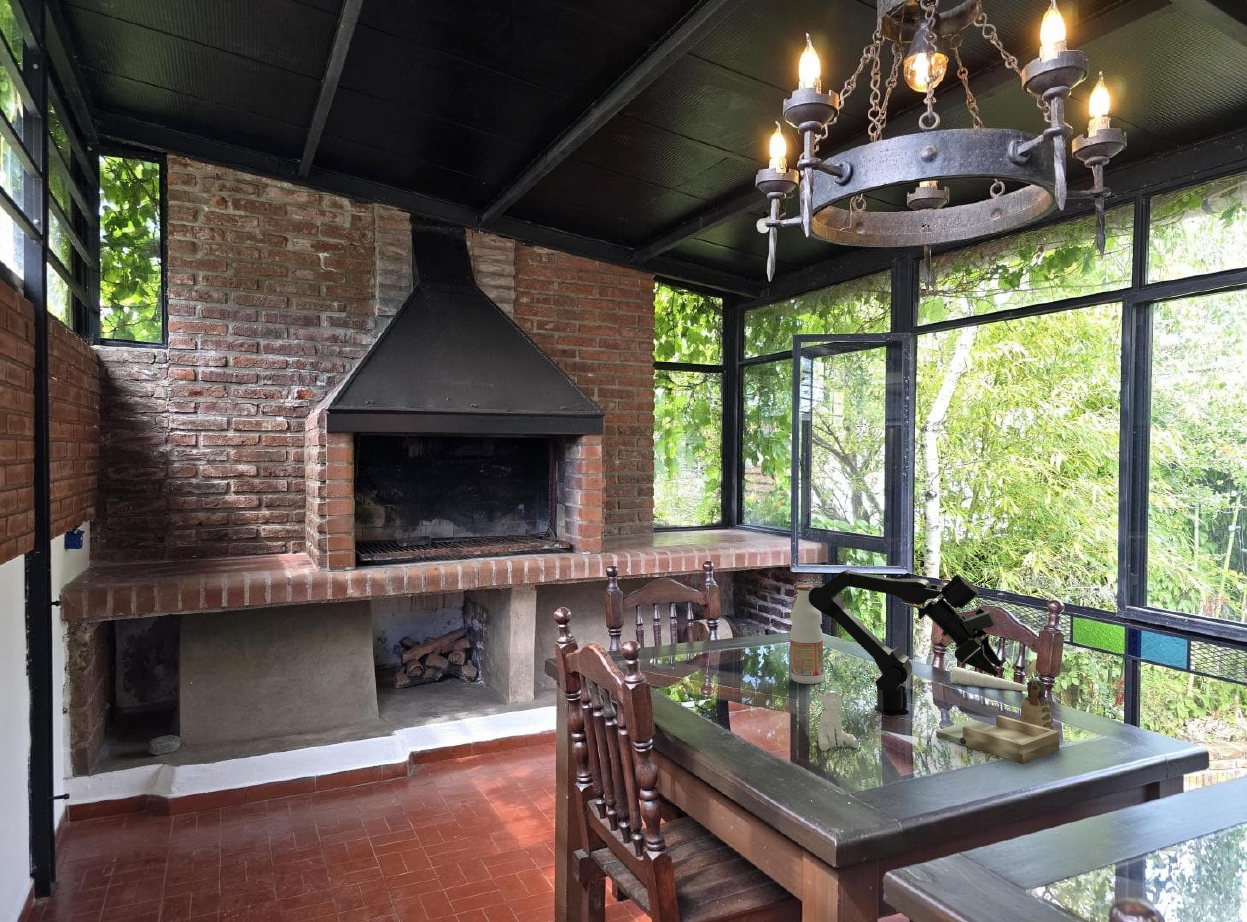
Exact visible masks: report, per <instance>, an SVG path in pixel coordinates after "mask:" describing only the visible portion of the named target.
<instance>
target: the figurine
mask: <svg viewBox="0 0 1247 922" xmlns="http://www.w3.org/2000/svg"><path fill="white" fill-rule="evenodd" d="M1026 685H1027V691H1026V692H1027V696H1026V697H1024V698H1023V700H1022V702H1021V705H1020V706H1021V707H1020V715H1019V716H1020V718H1019V721H1022V722H1026V723H1030V724H1033V725H1037V726H1041V727H1044V728H1048V729H1052V730H1055V723H1054V719H1053V718H1054V717H1053V709H1052V706H1051V704H1050V702H1049V701H1048V698H1047V696H1046V689H1047V686H1046V685H1045V684H1044V682H1042V681H1041V680H1040V679H1031V680H1029V681H1028V682H1027V683H1026Z"/></svg>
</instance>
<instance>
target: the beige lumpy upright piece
mask: <svg viewBox="0 0 1247 922" xmlns="http://www.w3.org/2000/svg"><path fill="white" fill-rule="evenodd" d="M842 694H843V693H842ZM842 694H841V693H838V692H837V691H834V690H832V689H831V690H826V691H824V693H823V694H822V693H817V694H816V695H817V698H818V699H819V700H821V705H822V708H824V710H823V711H822V713H821V716H820V720H819V721H820V722H819V724H818V727H817V732H816V734H817V739H818V740H817V741H818V743H817V744H818V747H819V749H820V750H821V751H824V752H827V751H828V750H829V749H833V748H836V747H839V748H841V747H842V748H843V747H850V748H852V749H857V748H858V747H859V744H860V743H859V742H860V741H859V740H858V739H857V738H856V737H855V736H854V734H852V733H847V732H845V731H844V729H843V728H842V726H843V725H842V722H843V720H842V717H841V715H840V709H841V708H842V706H843V703H842Z"/></svg>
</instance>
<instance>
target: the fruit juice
mask: <svg viewBox="0 0 1247 922" xmlns="http://www.w3.org/2000/svg"><path fill="white" fill-rule="evenodd" d="M813 588H815V587H814V585H813V584H812V585H811V584H799V585H796V592H797V596H796V599H795V601H794V602H795V603H794V605H793V606H792V608H791V610H790V612H789V613H790V617H789V618H790V622H791V629H790V634H789V635H790V636H789V637H790V666H791V668H790V673H791V675H790V676H791V680H792V681H793V682H794V683H798V684H805V685H815V684H820V683H823V682H824V678H825V670H824V668H825V666H824V664H825V663H824V635H823V633H824V632H823V629H822V628H821V624H822V619H823V616H822V614H823V613H821V612H820V611H819V610H817V609H816V608H815V607H813V606H812V605H811V604H810V602H809V592H810V591H811V590H812V589H813Z"/></svg>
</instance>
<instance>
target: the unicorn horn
mask: <svg viewBox="0 0 1247 922" xmlns="http://www.w3.org/2000/svg"><path fill="white" fill-rule="evenodd" d="M950 679H951V683H952V684H955V685H962V686H963V685H965V686H974V687H981V688H991V689H1000V690H1010V691H1019V692H1028V691H1027V684H1023V683H1019V682H1016V681H1012V680H1007V679H1004V678H1001V677H997V676H994V675H991V674H986V673H981V672H977V671H974V670H970V669H969V670H968V669H967V668H963V667H959V666H953V667H952V669H951V676H950Z"/></svg>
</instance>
